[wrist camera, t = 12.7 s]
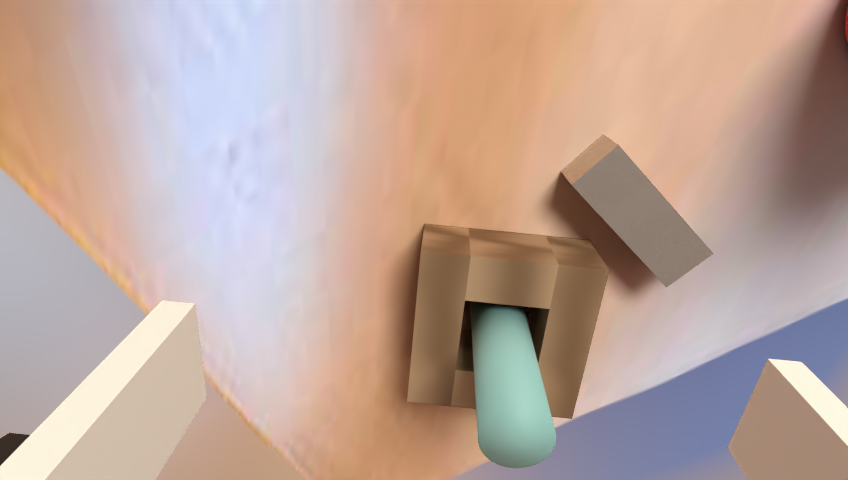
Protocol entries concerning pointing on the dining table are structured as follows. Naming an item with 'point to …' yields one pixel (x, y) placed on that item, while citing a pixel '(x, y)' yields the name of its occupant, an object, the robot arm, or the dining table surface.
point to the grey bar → (636, 210)
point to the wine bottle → (846, 26)
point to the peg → (509, 388)
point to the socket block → (511, 285)
